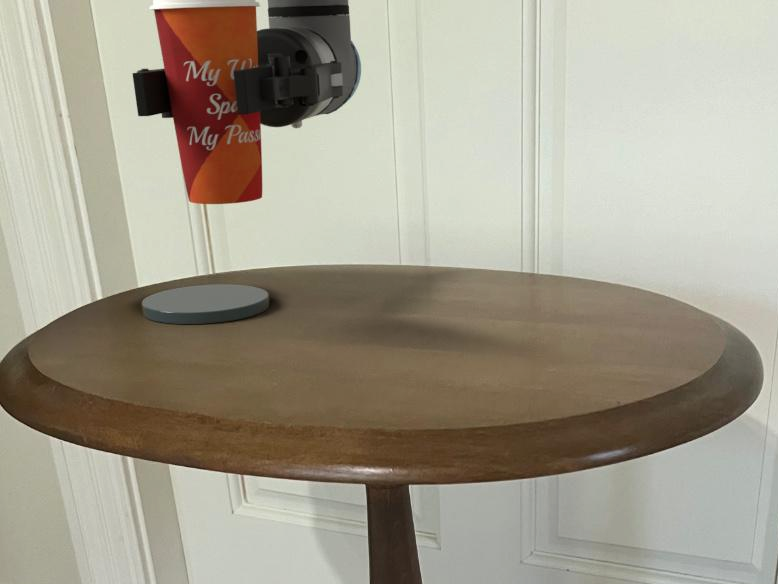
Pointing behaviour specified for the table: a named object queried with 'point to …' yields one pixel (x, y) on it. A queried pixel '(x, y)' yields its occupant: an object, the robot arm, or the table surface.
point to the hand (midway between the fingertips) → (190, 93)
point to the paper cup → (212, 95)
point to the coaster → (205, 304)
